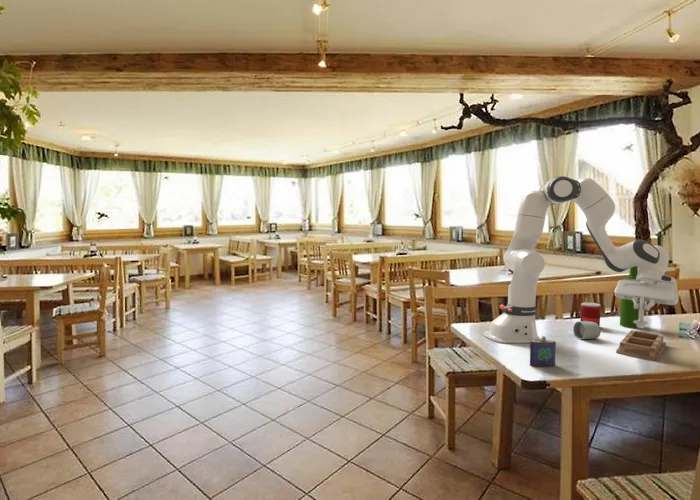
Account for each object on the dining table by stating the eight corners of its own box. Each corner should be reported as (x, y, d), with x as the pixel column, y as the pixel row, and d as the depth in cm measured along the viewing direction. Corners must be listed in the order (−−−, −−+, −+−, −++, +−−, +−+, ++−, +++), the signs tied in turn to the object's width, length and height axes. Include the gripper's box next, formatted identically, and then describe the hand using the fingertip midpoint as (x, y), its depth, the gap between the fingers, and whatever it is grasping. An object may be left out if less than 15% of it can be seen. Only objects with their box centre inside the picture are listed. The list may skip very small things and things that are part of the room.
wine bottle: (641, 329, 192) (645, 260, 189) (618, 326, 197) (622, 258, 194) (642, 325, 199) (646, 258, 196) (620, 322, 204) (623, 257, 201)
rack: (657, 360, 151) (658, 349, 150) (616, 352, 159) (616, 342, 159) (666, 345, 168) (666, 335, 168) (628, 339, 177) (628, 329, 177)
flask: (552, 363, 148) (553, 334, 147) (557, 366, 145) (558, 337, 145) (528, 364, 148) (529, 335, 147) (532, 367, 145) (533, 337, 144)
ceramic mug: (601, 340, 175) (602, 322, 175) (584, 341, 174) (585, 323, 173) (584, 334, 186) (584, 317, 185) (567, 334, 184) (568, 317, 184)
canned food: (603, 328, 193) (604, 305, 192) (585, 328, 193) (586, 305, 192) (593, 324, 201) (594, 302, 200) (577, 324, 201) (578, 302, 200)
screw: (642, 329, 156) (630, 326, 160) (651, 328, 158) (638, 325, 162) (644, 295, 155) (631, 293, 159) (653, 294, 156) (640, 292, 161)
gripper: (617, 273, 170) (608, 300, 164) (680, 278, 154) (673, 308, 149) (620, 282, 173) (611, 309, 167) (682, 289, 158) (674, 318, 152)
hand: (641, 309), depth 158 cm, fingers closed on screw, 2 cm apart
